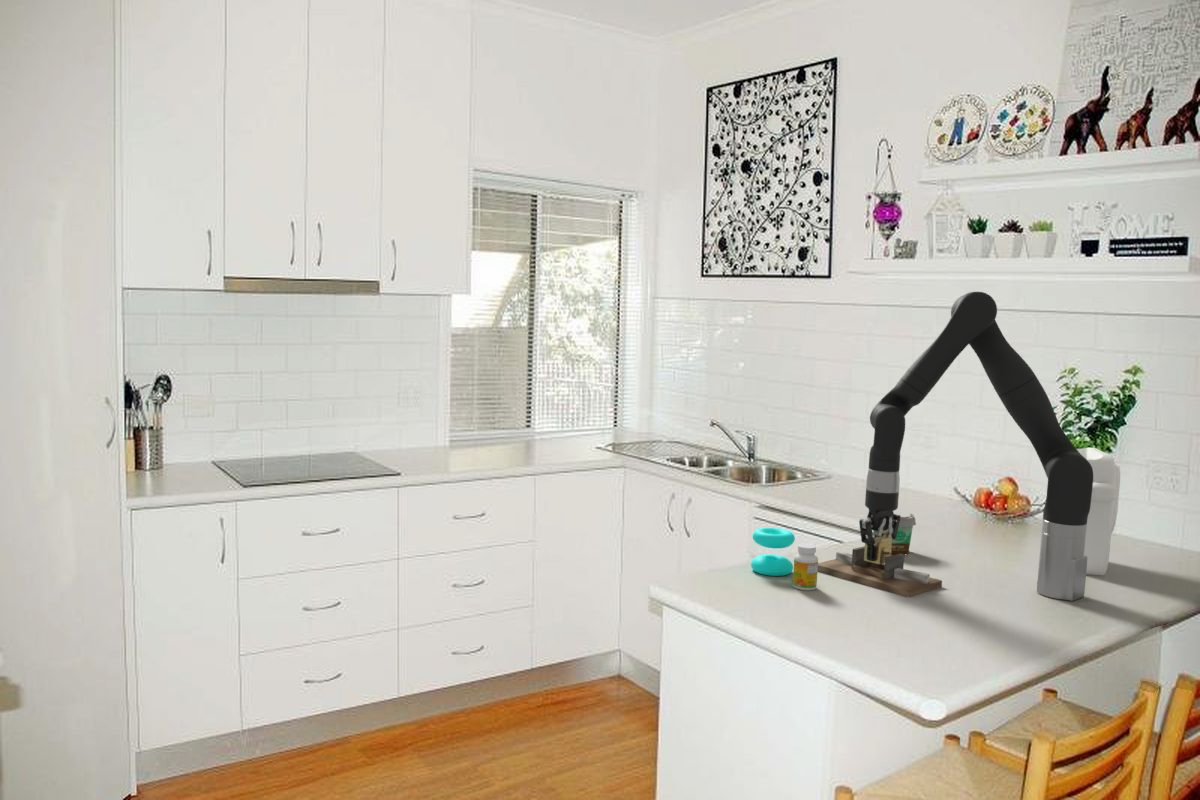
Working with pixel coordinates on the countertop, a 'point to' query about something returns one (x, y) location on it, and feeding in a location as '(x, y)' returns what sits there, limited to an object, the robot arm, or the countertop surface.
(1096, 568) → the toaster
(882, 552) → the tan block
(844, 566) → the board
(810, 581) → the supplement bottle
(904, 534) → the food container
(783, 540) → the donuts
